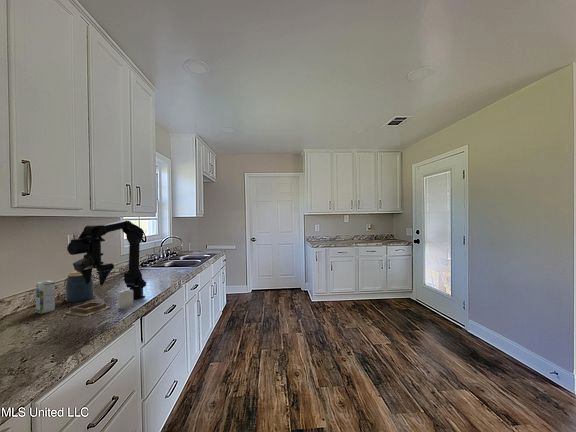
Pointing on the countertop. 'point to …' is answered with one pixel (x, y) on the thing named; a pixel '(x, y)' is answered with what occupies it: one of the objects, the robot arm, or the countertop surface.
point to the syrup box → (45, 296)
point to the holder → (88, 309)
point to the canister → (78, 287)
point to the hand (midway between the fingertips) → (94, 284)
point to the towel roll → (125, 299)
